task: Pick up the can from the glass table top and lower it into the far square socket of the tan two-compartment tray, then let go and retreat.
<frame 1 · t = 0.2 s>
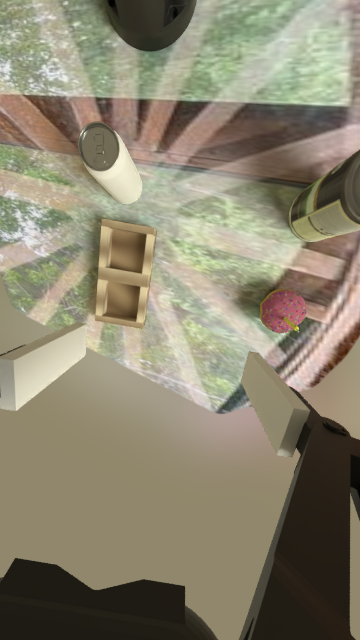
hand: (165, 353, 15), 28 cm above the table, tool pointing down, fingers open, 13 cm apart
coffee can: (314, 214, 37), on the table
can: (126, 187, 37), on the table
tan two-compartment tray: (127, 276, 41), on the table
cupcake: (271, 306, 42), on the table
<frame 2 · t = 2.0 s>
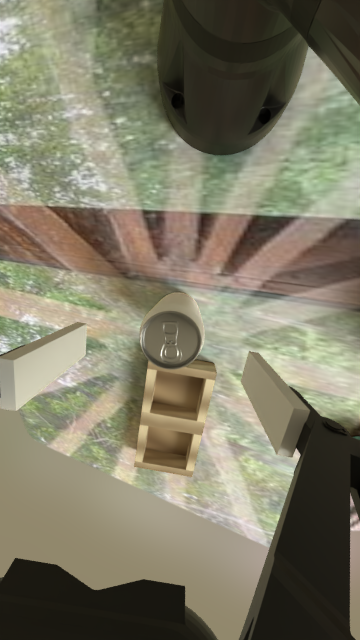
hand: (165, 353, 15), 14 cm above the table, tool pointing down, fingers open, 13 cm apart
can: (177, 313, 29), on the table
tan two-compartment tray: (173, 410, 33), on the table
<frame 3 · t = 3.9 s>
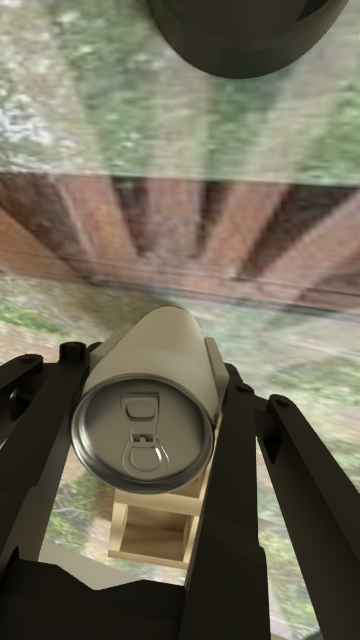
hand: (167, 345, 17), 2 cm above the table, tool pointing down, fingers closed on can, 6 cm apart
can: (169, 337, 19), on the table, touching gripper
tan two-compartment tray: (164, 472, 23), on the table
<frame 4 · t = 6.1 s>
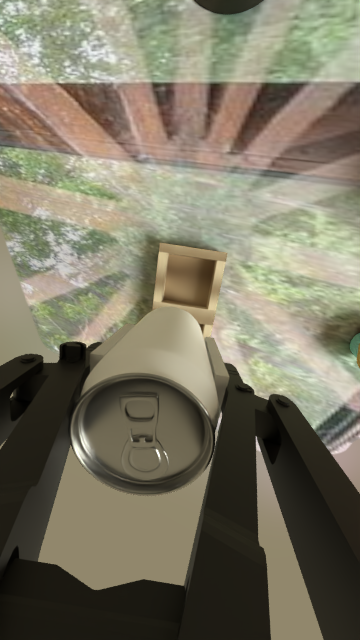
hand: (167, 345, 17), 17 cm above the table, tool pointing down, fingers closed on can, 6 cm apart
can: (169, 337, 19), point 15 cm above the table, touching gripper
tan two-compartment tray: (183, 309, 34), on the table
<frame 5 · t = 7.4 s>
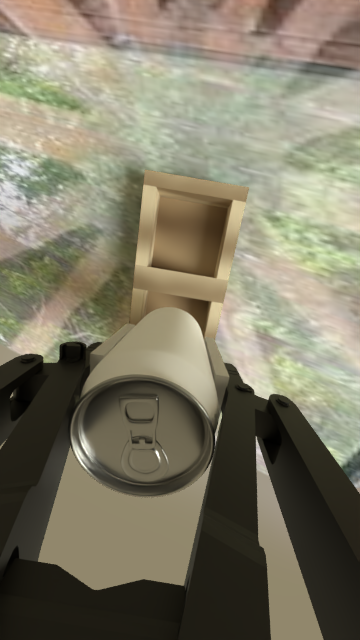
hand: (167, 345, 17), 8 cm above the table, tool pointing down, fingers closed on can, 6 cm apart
can: (169, 337, 19), point 6 cm above the table, touching gripper
tan two-compartment tray: (180, 282, 23), on the table
when the fingers open (4 cm above the table, at t = 8.4 s): can drops 2 cm, resting on tan two-compartment tray.
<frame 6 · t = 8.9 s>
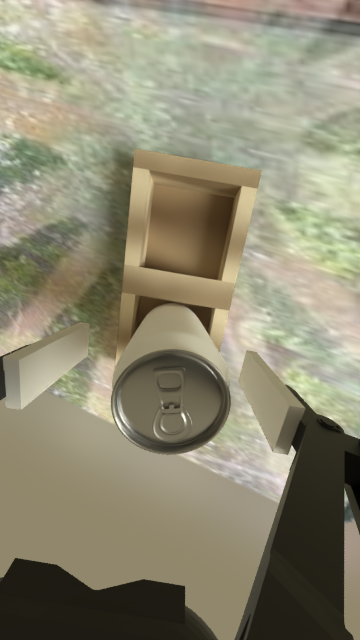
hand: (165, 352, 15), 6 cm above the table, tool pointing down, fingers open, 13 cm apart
can: (171, 331, 21), point 1 cm above the table, touching tan two-compartment tray
tan two-compartment tray: (179, 285, 20), on the table
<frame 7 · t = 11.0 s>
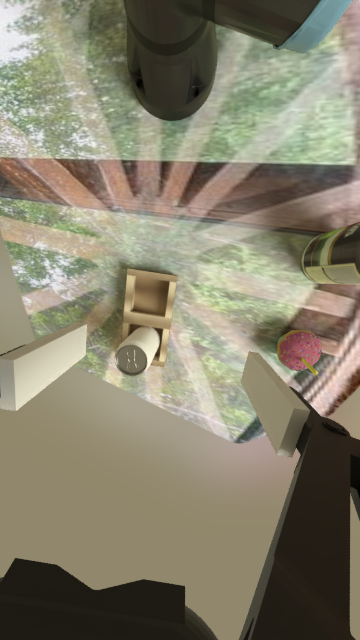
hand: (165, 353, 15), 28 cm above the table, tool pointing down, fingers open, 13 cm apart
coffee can: (325, 259, 40), on the table
can: (146, 338, 44), resting on tan two-compartment tray
tan two-compartment tray: (149, 317, 43), on the table
cupcake: (286, 342, 44), on the table
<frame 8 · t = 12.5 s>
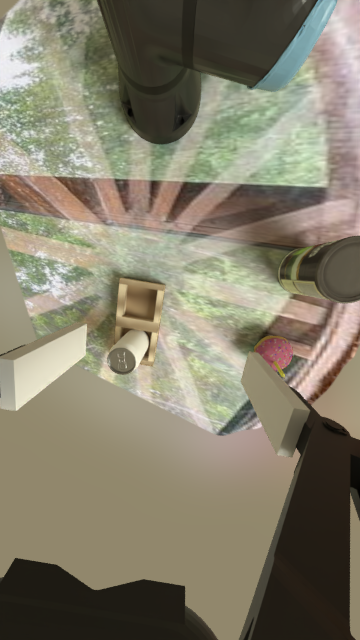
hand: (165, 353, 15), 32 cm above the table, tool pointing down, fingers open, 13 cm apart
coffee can: (299, 271, 44), on the table
can: (137, 340, 49), resting on tan two-compartment tray
tan two-compartment tray: (140, 321, 48), on the table
cupcake: (264, 346, 48), on the table
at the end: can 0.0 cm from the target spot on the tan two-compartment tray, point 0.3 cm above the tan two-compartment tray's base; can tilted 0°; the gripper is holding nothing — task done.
